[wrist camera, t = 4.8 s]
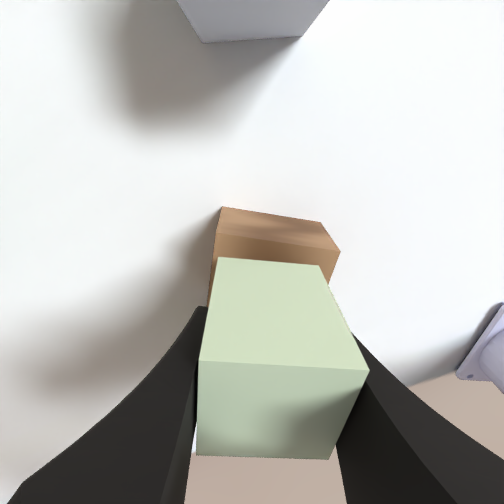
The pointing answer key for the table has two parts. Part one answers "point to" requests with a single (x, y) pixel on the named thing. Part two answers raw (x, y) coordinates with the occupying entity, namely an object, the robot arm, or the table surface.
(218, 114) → the table surface
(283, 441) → the sage block
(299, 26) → the slate block
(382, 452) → the robot arm
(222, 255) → the walnut plinth
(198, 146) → the table surface
